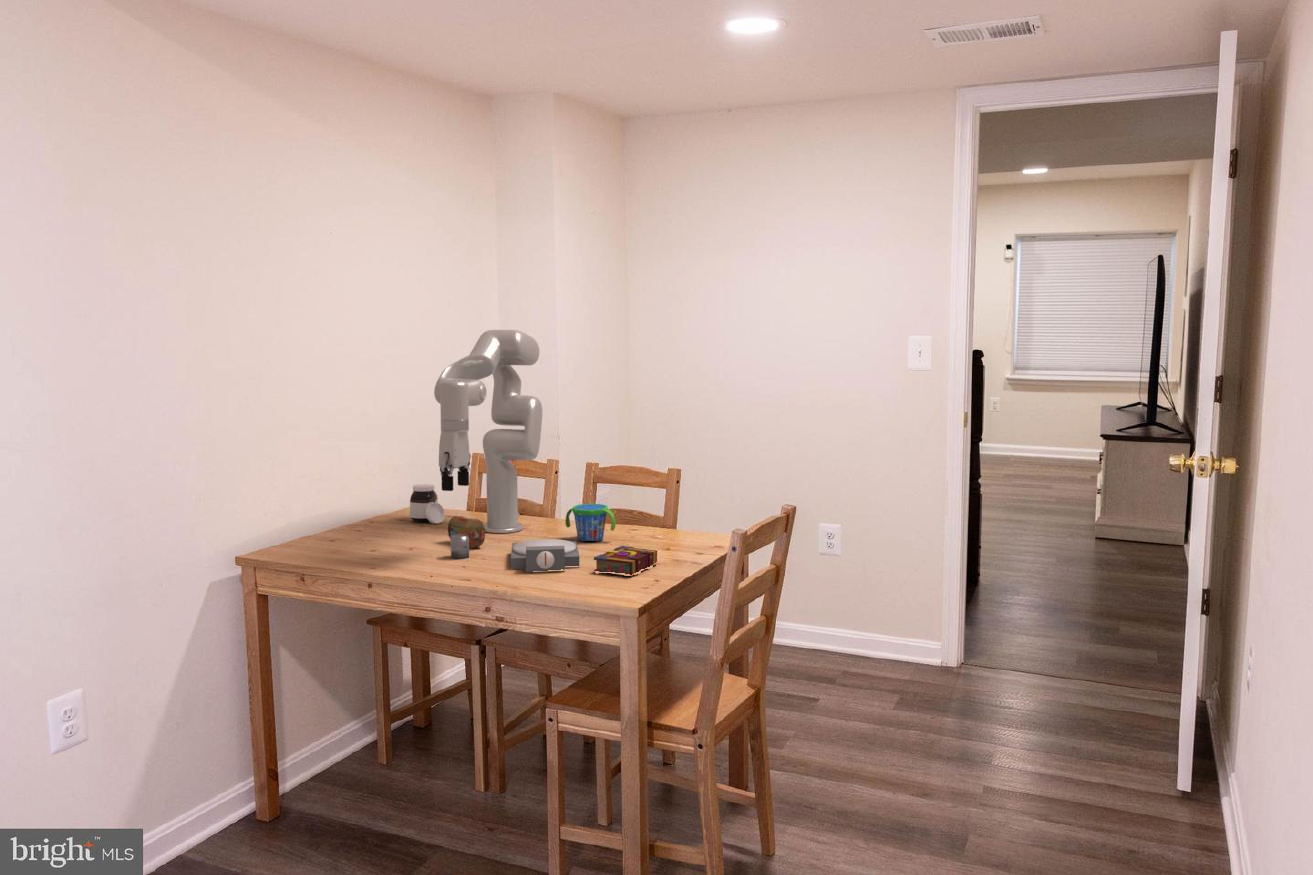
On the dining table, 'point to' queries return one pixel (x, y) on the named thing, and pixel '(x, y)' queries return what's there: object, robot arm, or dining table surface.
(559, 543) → the scale
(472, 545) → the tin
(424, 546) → the dining table surface
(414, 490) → the spread jar
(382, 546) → the dining table surface
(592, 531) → the snack cup
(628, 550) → the decorative book
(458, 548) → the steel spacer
